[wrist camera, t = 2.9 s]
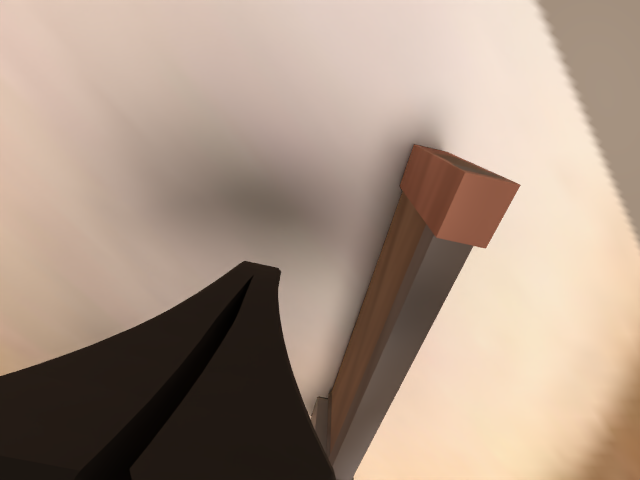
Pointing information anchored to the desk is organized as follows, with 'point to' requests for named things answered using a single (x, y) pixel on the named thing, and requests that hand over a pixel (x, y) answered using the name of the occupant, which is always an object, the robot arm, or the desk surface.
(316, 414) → the gate post
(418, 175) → the brown flat bar
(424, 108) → the desk surface
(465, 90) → the desk surface
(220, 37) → the desk surface
